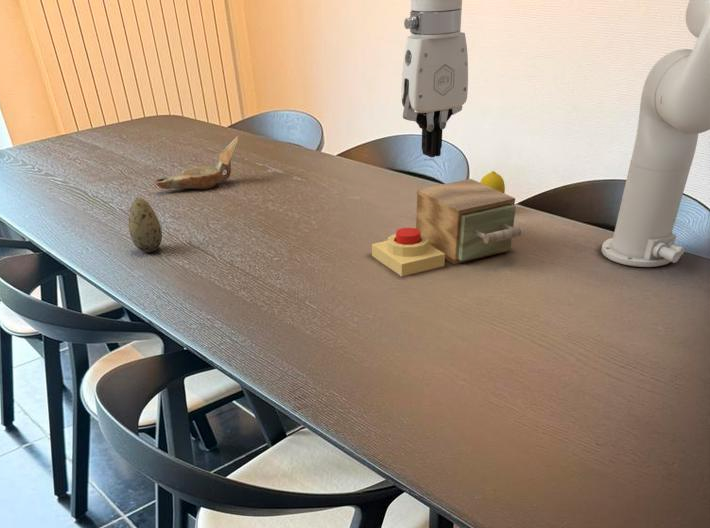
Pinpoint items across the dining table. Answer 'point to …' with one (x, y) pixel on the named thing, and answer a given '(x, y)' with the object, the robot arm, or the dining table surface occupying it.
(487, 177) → the lemon
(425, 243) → the button box
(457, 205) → the cabinet
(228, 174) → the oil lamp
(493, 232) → the drawer
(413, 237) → the red button
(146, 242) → the decorative egg
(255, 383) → the dining table surface
